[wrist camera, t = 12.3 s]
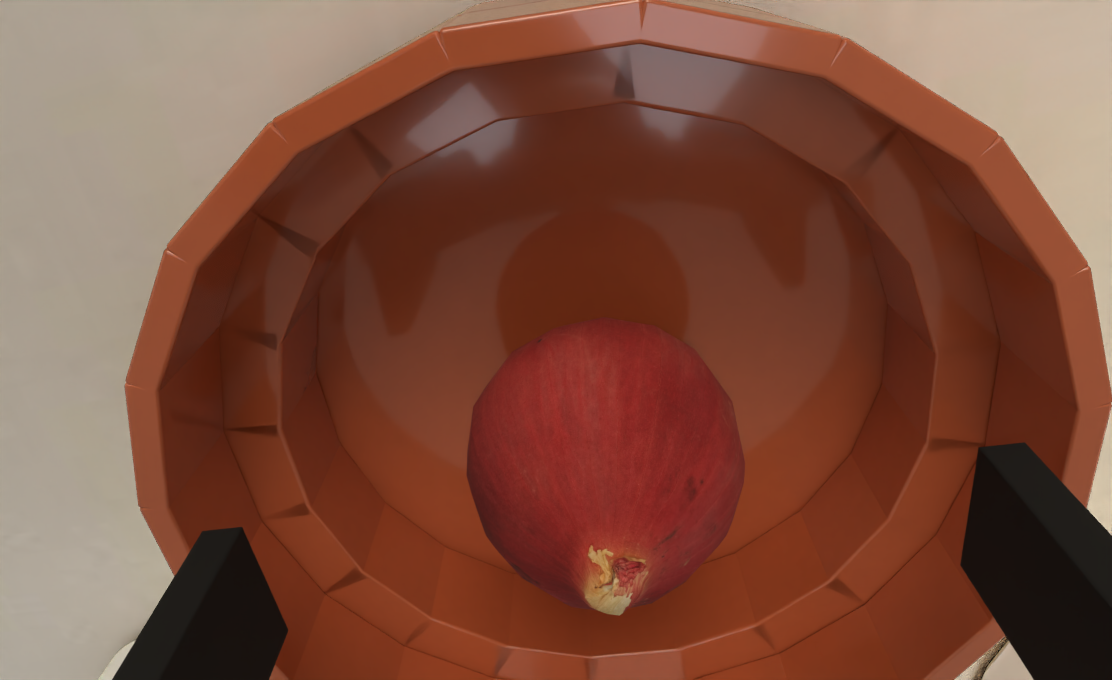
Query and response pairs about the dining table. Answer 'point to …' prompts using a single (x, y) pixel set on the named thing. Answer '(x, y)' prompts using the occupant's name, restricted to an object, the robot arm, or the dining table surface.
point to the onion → (605, 463)
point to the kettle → (1007, 666)
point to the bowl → (625, 294)
